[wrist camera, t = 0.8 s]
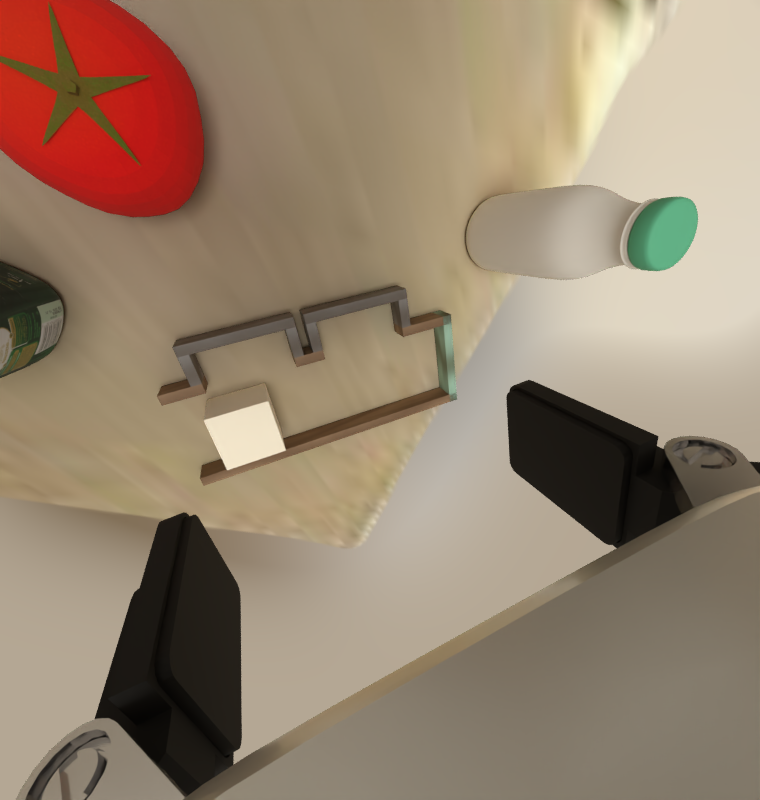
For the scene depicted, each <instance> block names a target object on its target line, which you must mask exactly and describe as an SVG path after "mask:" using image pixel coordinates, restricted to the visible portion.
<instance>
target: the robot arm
mask: <svg viewBox="0 0 760 800" xmlns="http://www.w3.org/2000/svg"><path fill="white" fill-rule="evenodd" d="M507 416H508V434H509V454H510V464H511V467H512V468H513V470H514V471H515V472H516V473H517V474H518V475H519V476H521V477H522V478H523V479H525V480H526V481H527V482H528V483H530V484H531V485H532V486H533V487H535V488H536V489H537V490H539V491H540V492H541V493H542V494H543V495H545V496H546V497H547V498H548V499H550V500H551V501H552V502H553V503H555V504H556V505H557V506H558V507H560V508H561V509H562V510H563V511H565V512H566V513H567V514H569V515H570V516H571V517H572V518H574V519H575V520H576V521H577V522H579V523H580V524H581V525H582V526H584V527H585V528H586V529H588V530H589V531H590V532H591V533H592V534H594V535H595V536H596V537H597V538H599V539H600V540H601V541H603V542H604V543H606V544H608V545H613V546H615V547H616V548H617V549H615V550H613V551H611V552H610V553H608V554H606V555H604V556H602V557H601V558H599V559H597V560H595V561H593V562H591V563H590V564H588V565H586V566H584V567H582V568H580V569H578V570H577V571H575V572H573V573H571V574H569V575H567V576H566V577H564V578H562V579H560V580H558V581H556V582H555V583H553V584H551V585H549V586H547V587H546V588H544V589H542V590H540V591H538V592H537V593H535V594H533V595H531V596H529V597H528V598H526V599H524V600H522V601H520V602H519V603H517V604H515V605H513V606H511V607H509V608H508V609H506V610H504V611H502V612H500V613H498V614H497V615H495V616H493V617H491V618H490V619H488V620H486V621H484V622H482V623H480V624H479V625H477V626H475V627H473V628H472V629H470V630H468V631H466V632H464V633H462V634H461V635H459V636H457V637H455V638H454V639H452V640H450V641H448V642H446V643H444V644H443V645H441V646H439V647H437V648H436V649H434V650H432V651H430V652H428V653H427V654H425V655H423V656H421V657H419V658H418V659H416V660H414V661H412V662H410V663H409V664H407V665H405V666H403V667H402V668H400V669H398V670H396V671H395V672H393V673H391V674H389V675H387V676H386V677H384V678H382V679H380V680H379V681H377V682H375V683H373V684H371V685H369V686H368V687H366V688H364V689H362V690H361V691H359V692H357V693H355V694H354V695H352V696H350V697H348V698H346V699H345V700H343V701H341V702H339V703H338V704H336V705H334V706H332V707H330V708H329V709H327V710H325V711H323V712H322V713H320V714H318V715H317V716H315V717H313V718H311V719H310V720H308V721H306V722H305V723H303V724H301V725H299V726H298V727H296V728H294V729H293V730H291V731H289V732H287V733H286V734H284V735H282V736H281V737H279V738H277V739H276V740H274V741H272V742H271V743H269V744H267V745H265V746H263V747H262V748H260V749H258V750H257V751H255V752H253V753H251V754H250V755H248V756H247V757H245V758H244V759H242V760H240V761H239V762H237V763H236V764H234V765H233V752H234V751H236V750H238V749H239V748H240V746H241V738H242V729H241V728H242V724H241V614H240V613H241V611H240V609H241V608H240V607H241V606H240V591H239V587H238V584H237V582H236V581H235V579H234V577H233V575H232V574H231V572H230V570H229V569H228V567H227V565H226V564H225V562H224V560H223V558H222V557H221V555H220V554H219V552H218V550H217V548H216V547H215V545H214V543H213V541H212V540H211V538H210V536H209V535H208V533H207V531H206V530H205V528H204V526H203V524H202V523H201V521H200V519H199V518H198V516H196V515H192V516H189V515H188V514H187V513H181V514H179V515H176V516H173V517H171V518H168V519H166V520H163V521H161V522H159V524H158V527H157V531H156V534H155V537H154V541H153V544H152V548H151V551H150V554H149V558H148V561H147V565H146V568H145V572H144V575H143V579H142V582H141V585H140V588H139V589H138V590H137V591H135V592H134V594H133V597H132V599H131V602H130V605H129V608H128V612H127V615H126V618H125V622H124V625H123V628H122V632H121V634H120V638H119V641H118V644H117V648H116V651H115V654H114V657H113V661H112V664H111V667H110V671H109V674H108V677H107V680H106V684H105V687H104V690H103V693H102V697H101V700H100V703H99V707H98V710H97V713H96V716H95V720H92V721H90V722H87V723H85V724H83V725H81V726H80V727H78V728H77V729H75V730H74V731H72V732H71V733H69V734H68V735H66V736H65V737H64V738H63V739H62V740H61V741H60V742H59V743H57V745H55V746H54V747H53V748H52V749H51V750H50V751H49V752H48V753H47V755H46V756H45V757H44V758H43V759H42V760H41V761H40V763H39V764H38V765H37V766H36V767H35V769H34V770H33V771H32V773H31V775H30V776H29V778H28V779H27V781H26V782H25V784H24V785H23V787H22V789H21V790H20V792H19V794H18V796H17V799H16V800H760V462H749V461H748V460H747V458H746V457H745V456H744V455H743V454H742V453H741V452H740V451H739V450H738V449H736V448H734V447H732V446H731V445H729V444H727V443H724V442H721V441H718V440H715V439H711V438H705V437H698V436H685V437H678V438H673V439H671V440H669V441H668V442H666V444H665V446H664V449H662V448H660V447H658V446H657V440H658V436H656V435H654V434H652V433H650V432H647V431H645V430H643V429H640V428H638V427H636V426H634V425H631V424H629V423H627V422H625V421H622V420H620V419H618V418H615V417H613V416H611V415H609V414H606V413H604V412H602V411H600V410H597V409H595V408H593V407H591V406H588V405H586V404H584V403H581V402H579V401H577V400H574V399H572V398H570V397H568V396H565V395H563V394H561V393H558V392H556V391H554V390H552V389H550V388H547V387H545V386H543V385H540V384H538V383H536V382H534V381H531V380H528V381H524V382H522V383H520V384H517V385H514V386H512V387H511V388H510V392H509V393H508V394H507Z"/></svg>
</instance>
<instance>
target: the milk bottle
mask: <svg viewBox="0 0 760 800" xmlns="http://www.w3.org/2000/svg"><path fill="white" fill-rule="evenodd" d="M697 222H698V214H697V209H696V206H695V204H694V203H693V201H691V200H690V199H688V198H684V197H668V198H661V199H650V200H647V201H645V202H644V203H637V202H633V201H630V200H627V199H625V198H623V197H621V196H620V195H618V194H616V193H614V192H612V191H610V190H608V189H605V188H602V187H598V186H592V185H573V186H561V187H554V188H546V189H538V190H531V191H524V192H517V193H510V194H503V195H498V196H493V197H491V198H489V199H487V200H485V201H484V202H483V203H482V204H481V205H479V207H478V208H477V209H476V210H475V211H474V213H473V215H472V217H471V218H470V221H469V224H468V227H467V232H466V245H467V249H468V253H469V255H470V257H471V258H472V260H473V261H474V262H475V264H477V265H478V266H479V267H481V268H483V269H486V270H490V271H496V272H503V273H509V274H516V275H523V276H531V277H538V278H546V279H557V280H571V279H579V278H583V277H587V276H590V275H593V274H595V273H598V272H600V271H603V270H606V269H608V268H612V267H616V266H620V265H626V266H627V267H628V268H631V269H641V270H648V271H660V270H666V269H668V268H670V267H672V266H673V265H674V264H676V263H677V262H678V261H679V260H680V259H681V258H682V257H683V256H684V254H685V253H686V252H687V250H688V249H689V247H690V245H691V243H692V241H693V239H694V236H695V233H696V229H697Z"/></svg>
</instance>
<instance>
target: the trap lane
mask: <svg viewBox="0 0 760 800" xmlns="http://www.w3.org/2000/svg"><path fill="white" fill-rule="evenodd" d="M387 303H391V308H392V315H393V321H394V328H395V332H397V333H398V334H400V335H402V336H403V337H404V336H408V335H411V334H415V333H418V332H422V331H425V330H429V329H433V328H434V333H435V343H436V354H437V364H438V374H439V385H440V387H439V388H436V389H433V390H430V391H427V392H424V393H421V394H418V395H415V396H412V397H409V398H406V399H403V400H400V401H397V402H394V403H391V404H387V405H384V406H381V407H378V408H375V409H372V410H369V411H366V412H363V413H360V414H357V415H354V416H351V417H348V418H345V419H342V420H339V421H336V422H333V423H330V424H327V425H324V426H321V427H318V428H315V429H312V430H309V431H305V432H302V433H299V434H296V435H293V436H290V437H287V438H284V439H283V440H284V444H285V449H286V451H283V452H280V453H277V454H274V455H271V456H268V457H265V458H262V459H259V460H256V461H254V462H251V463H248V464H245V465H242V466H239V467H236V468H233V469H230V470H227V469H226V467H225V465H224V462H223V460H222V459H220V460H217V461H214V462H211V463H208V464H205V465H202V469H201V476H200V479H201V481H202V483H203V485H204V486H205V485H207V484H210V483H213V482H216V481H219V480H222V479H225V478H228V477H231V476H234V475H237V474H240V473H243V472H245V471H248V470H251V469H254V468H257V467H260V466H263V465H266V464H269V463H272V462H275V461H278V460H281V459H283V458H286V457H289V456H292V455H295V454H298V453H301V452H304V451H307V450H310V449H313V448H316V447H319V446H321V445H324V444H327V443H330V442H333V441H336V440H339V439H342V438H345V437H348V436H351V435H354V434H357V433H359V432H362V431H365V430H368V429H371V428H374V427H377V426H380V425H383V424H386V423H389V422H392V421H395V420H397V419H400V418H403V417H406V416H409V415H412V414H415V413H418V412H421V411H424V410H427V409H430V408H432V407H435V406H438V405H441V404H444V403H447V402H450V401H453V400H456V399H457V394H456V380H455V366H454V352H453V338H452V324H451V314H448V313H445V312H443V311H436V312H433V313H429V314H425V315H422V316H418V317H414V318H411V319H410V317H409V309H408V301H407V293H406V289H405V288H402V287H399V286H394V287H390V288H386V289H381V290H377V291H373V292H369V293H365V294H361V295H357V296H353V297H349V298H345V299H341V300H337V301H333V302H329V303H325V304H321V305H317V306H313V307H309V308H305V309H301V310H299V311H300V314H301V318H302V322H303V325H304V329H305V333H306V336H307V340H308V343H309V346H308V347H304V348H302V347H301V343H300V340H299V336H298V333H297V329H296V326H295V322H294V319H293V316H292V315H291V313H290V312H289V313H284V314H280V315H276V316H272V317H268V318H264V319H260V320H256V321H252V322H248V323H244V324H240V325H236V326H232V327H228V328H224V329H220V330H216V331H212V332H208V333H204V334H200V335H196V336H192V337H188V338H183V339H179V340H176V342H175V344H174V345H173V347H172V348H173V350H174V352H175V354H176V356H177V358H178V361H179V363H180V365H181V367H182V369H183V371H184V373H185V376H186V378H187V380H184V381H180V382H176V383H173V384H169V385H165V386H162V387H161V389H160V391H159V393H158V395H157V397H158V399H159V401H160V403H161V405H166V404H169V403H173V402H176V401H180V400H183V399H187V398H190V397H194V396H197V395H201V394H204V393H206V390H207V385H208V383H207V381H206V379H205V377H204V374H203V372H202V370H201V367H200V365H199V363H198V361H197V358H196V356H195V354H194V353H197V352H201V351H205V350H209V349H213V348H217V347H221V346H225V345H228V344H232V343H236V342H240V341H244V340H248V339H252V338H255V337H259V336H263V335H267V334H271V333H275V332H279V331H283V330H285V333H286V336H287V339H288V342H289V346H290V349H291V352H292V356H293V359H294V362H295V364H296V366H297V367H299V366H303V365H306V364H310V363H313V362H317V361H320V360H324V359H325V357H324V353H323V349H322V345H321V341H320V337H319V333H318V329H317V325H316V322H317V321H321V320H325V319H329V318H333V317H337V316H341V315H345V314H348V313H352V312H356V311H360V310H364V309H368V308H372V307H375V306H379V305H383V304H387Z"/></svg>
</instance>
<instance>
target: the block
mask: <svg viewBox="0 0 760 800" xmlns="http://www.w3.org/2000/svg"><path fill="white" fill-rule="evenodd" d="M204 422H205V424H206V426H207V428H208V431H209V433H210V435H211V437H212V439H213V441H214V443H215V445H216V448H217V450H218V452H219V454H220V456H221V458H222V460H223V462H224V465H225V467H226V469H227V470H230V469H233V468H236V467H239V466H242V465H245V464H248V463H251V462H254V461H256V460H259V459H262V458H265V457H268V456H271V455H274V454H277V453H280V452H283V451H286V449H285V444H284V440H283V435H282V431H281V427H280V425H279V422H278V419H277V416H276V413H275V410H274V408H273V405H272V402H271V399H270V396H269V394H268V391H267V388H266V385H265V383H263V384H259V385H256V386H252V387H249V388H246V389H242V390H239V391H235V392H232V393H228V394H225V395H221V396H218V397H214V398H211V399H208V400H207V404H206V410H205V416H204Z"/></svg>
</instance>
